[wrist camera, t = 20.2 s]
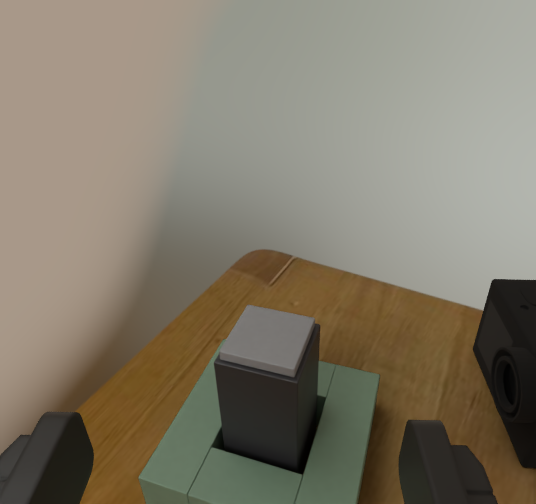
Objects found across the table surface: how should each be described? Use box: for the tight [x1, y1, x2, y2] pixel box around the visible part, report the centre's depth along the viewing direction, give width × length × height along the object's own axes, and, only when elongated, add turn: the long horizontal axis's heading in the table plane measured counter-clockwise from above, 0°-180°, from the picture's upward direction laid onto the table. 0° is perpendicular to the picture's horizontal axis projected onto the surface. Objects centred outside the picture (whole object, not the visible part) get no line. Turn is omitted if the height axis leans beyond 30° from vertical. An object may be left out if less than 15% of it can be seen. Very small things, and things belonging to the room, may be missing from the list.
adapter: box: [139, 339, 380, 504], centre depth 29 cm, size 12×12×3 cm
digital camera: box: [473, 279, 536, 468], centre depth 30 cm, size 10×5×7 cm, turn 175°
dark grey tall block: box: [214, 305, 320, 475], centre depth 27 cm, size 4×4×10 cm
